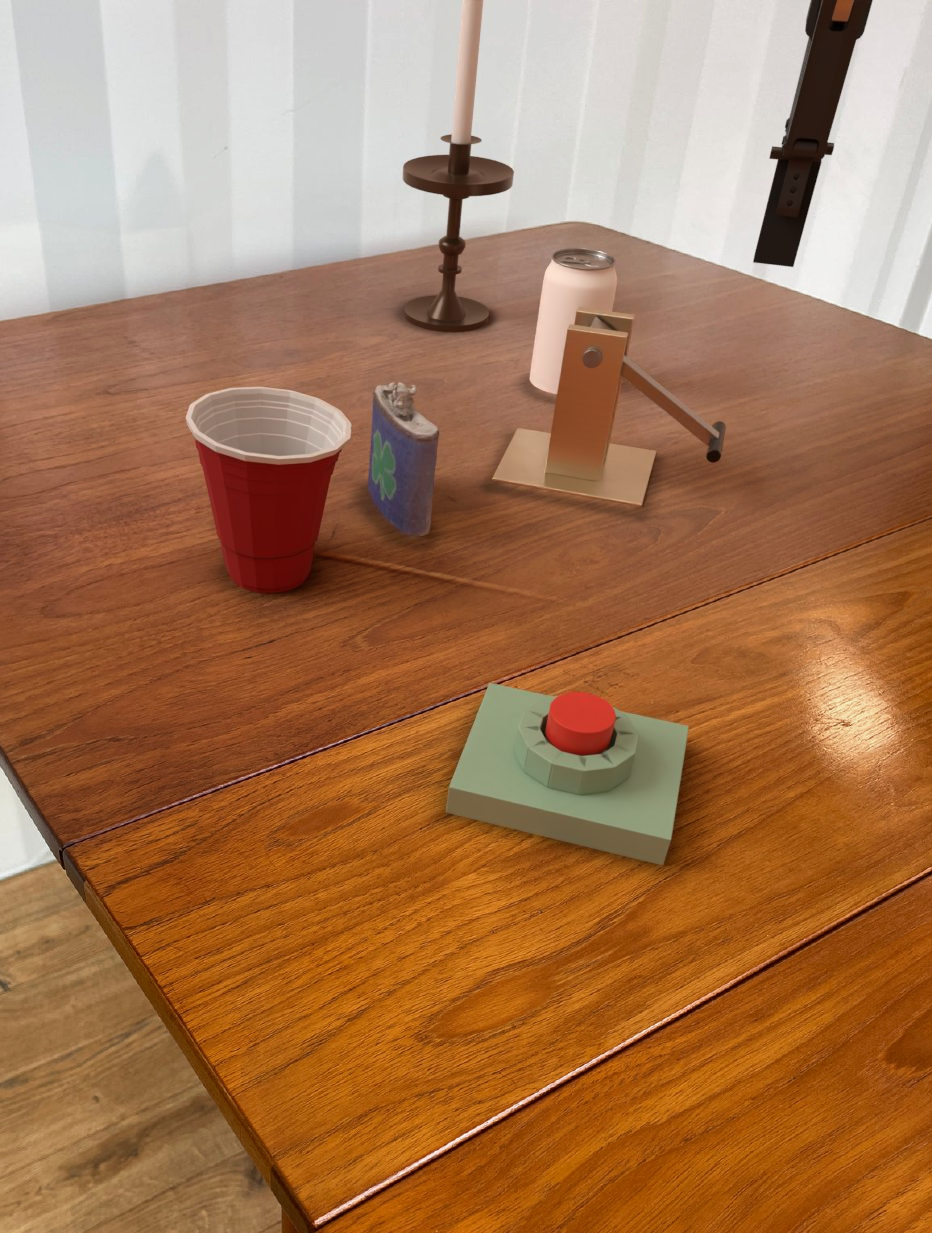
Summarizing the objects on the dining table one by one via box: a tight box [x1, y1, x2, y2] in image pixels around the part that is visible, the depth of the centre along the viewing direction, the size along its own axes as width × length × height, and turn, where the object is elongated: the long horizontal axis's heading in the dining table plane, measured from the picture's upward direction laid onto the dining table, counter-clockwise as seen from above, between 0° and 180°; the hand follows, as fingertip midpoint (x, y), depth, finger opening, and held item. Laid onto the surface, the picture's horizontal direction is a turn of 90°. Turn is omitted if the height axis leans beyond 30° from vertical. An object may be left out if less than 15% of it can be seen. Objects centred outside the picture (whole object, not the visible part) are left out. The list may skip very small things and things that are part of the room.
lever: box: [588, 317, 727, 464], centre depth 86 cm, size 14×6×2 cm, turn 72°
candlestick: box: [402, 0, 515, 333], centre depth 107 cm, size 11×11×35 cm
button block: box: [445, 682, 690, 866], centre depth 63 cm, size 12×10×4 cm
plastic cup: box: [185, 386, 352, 594], centre depth 76 cm, size 11×11×12 cm
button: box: [545, 691, 616, 756], centre depth 62 cm, size 4×4×2 cm
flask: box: [366, 382, 440, 537], centre depth 83 cm, size 9×3×11 cm, turn 20°
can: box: [529, 247, 618, 395], centre depth 102 cm, size 6×6×12 cm
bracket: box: [491, 307, 657, 508], centre depth 89 cm, size 12×10×13 cm
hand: (773, 260), depth 78 cm, fingers closed
